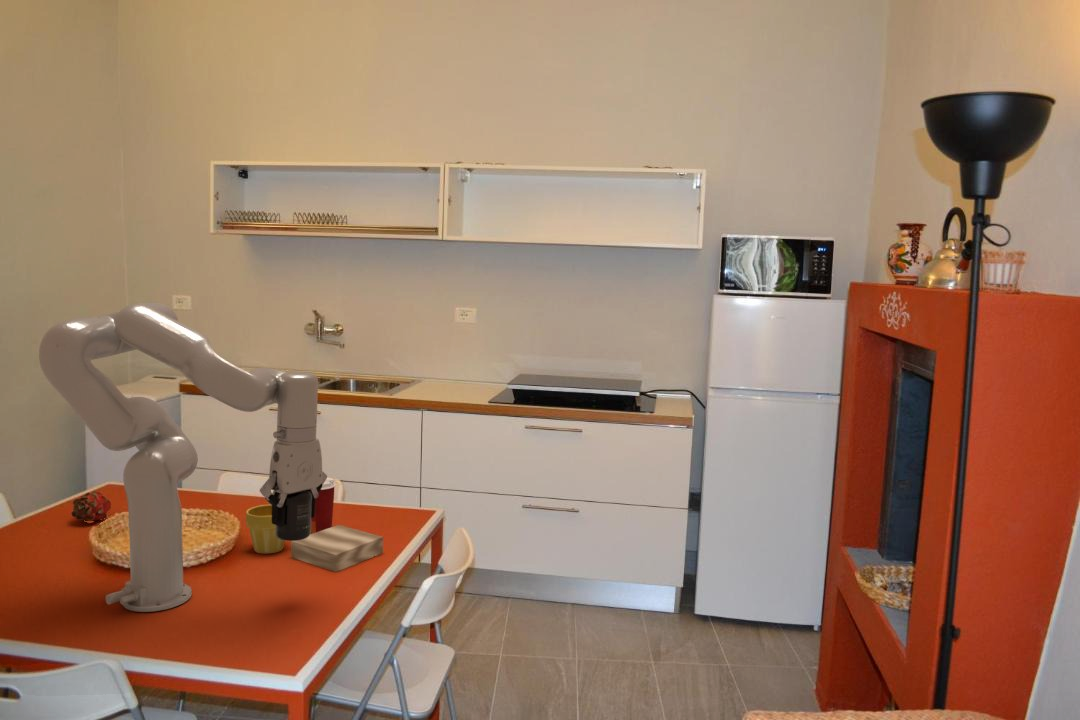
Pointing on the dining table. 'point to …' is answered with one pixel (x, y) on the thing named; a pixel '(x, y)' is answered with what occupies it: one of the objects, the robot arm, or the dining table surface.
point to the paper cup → (323, 507)
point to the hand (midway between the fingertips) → (293, 519)
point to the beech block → (337, 547)
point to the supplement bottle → (296, 517)
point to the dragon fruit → (91, 507)
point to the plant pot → (263, 530)
